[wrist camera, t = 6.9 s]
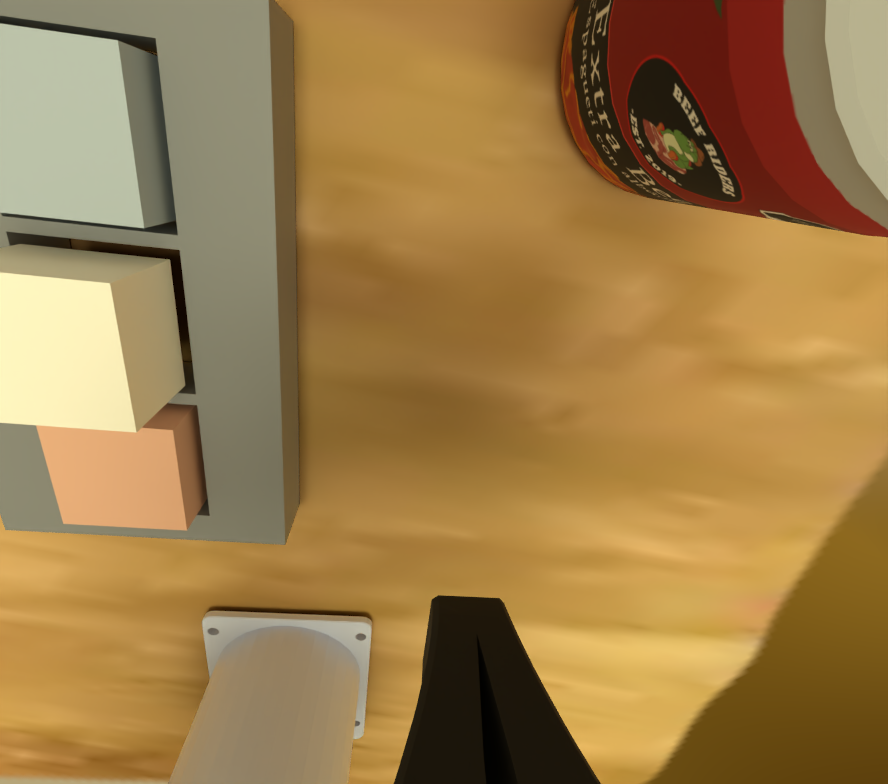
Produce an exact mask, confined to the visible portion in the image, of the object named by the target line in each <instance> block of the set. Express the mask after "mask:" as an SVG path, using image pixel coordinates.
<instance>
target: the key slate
mask: <svg viewBox="0 0 888 784" xmlns="http://www.w3.org/2000/svg"><path fill="white" fill-rule="evenodd" d="M0 212H1V213H10V214H19V215H28V216H37V217H46V218H55V219H64V220H74V221H83V222H92V223H101V224H110V225H119V226H128V227H137V228H147V227H151V226H155V225H160V224H164V223H168V222H172V221H176V213H175V205H174V196H173V187H172V178H171V169H170V160H169V152H168V143H167V134H166V125H165V116H164V107H163V99H162V90H161V81H160V72H159V63H158V56H156V55H153V54H151V53H148V52H146V51H143V50H141V49H138V48H136V47H133V46H131V45H128V44H126V43H123V42H121V41H118V40H112V39H105V38H98V37H91V36H84V35H77V34H70V33H63V32H56V31H49V30H42V29H35V28H28V27H21V26H14V25H7V24H0Z"/></svg>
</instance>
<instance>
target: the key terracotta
mask: <svg viewBox="0 0 888 784" xmlns="http://www.w3.org/2000/svg"><path fill="white" fill-rule="evenodd" d="M36 427H37V431H38V434H39V438H40V442H41V445H42V449H43V452H44V456H45V460H46V463H47V467H48V470H49V474H50V478H51V481H52V485H53V488H54V492H55V495H56V499H57V503H58V506H59V510H60V513H61V517H62V521H63V524H77V525H95V526H113V527H131V528H150V529H168V530H186V531H187V530H188V528H189V527H190V525H191V523H192V522H193V520H194V519H195V517H196V515H197V514H198V512H199V511H200V509H201V507H202V506H203V504H204V503H205V501H206V499H207V498H208V496H207V487H206V478H205V469H204V461H203V452H202V443H201V434H200V425H199V416H198V408H197V405H185V404H172V403H167V404H166V405H165V406H164V407H163V408H161V409H160V410H159V411H158V412H157V413H156V414H155V415H154V416H153V417H152V418H151V419H150V420H149V421H148V422H147V423H146V424H145V425H144V426H143V427H142V428H141V429H140V430H139V431H138V432H137V433H135V432H122V431H108V430H94V429H80V428H66V427H52V426H39V425H36Z"/></svg>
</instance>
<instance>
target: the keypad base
mask: <svg viewBox="0 0 888 784" xmlns="http://www.w3.org/2000/svg"><path fill="white" fill-rule="evenodd" d="M0 24H7V25H14V26H21V27H28V28H35V29H42V30H49V31H56V32H63V33H70V34H77V35H84V36H91V37H98V38H105V39H112V40H118V41H121V42H123V43H126V44H128V45H131V46H133V47H136V48H138V49H141V50H146V51H153V52H157V54H158V63H159V72H160V81H161V90H162V99H163V107H164V116H165V125H166V134H167V143H168V152H169V160H170V169H171V178H172V187H173V196H174V205H175V213H176V221H172V222H168V223H164V224H160V225H155V226H151V227H147V228H137V227H128V226H119V225H110V224H101V223H92V222H83V221H74V220H64V219H55V218H46V217H37V216H28V215H19V214H10V213H1V212H0V248H3V247H8V246H12V245H17V244H27V245H36V246H46V247H56V248H65V249H71V246H70V241H69V238H72V239H82V240H91V241H100V242H110V243H119V244H129V245H138V246H147V247H157V248H166V249H175V250H180V257H181V266H182V275H183V284H184V293H185V302H186V310H187V319H188V328H189V337H190V346H191V355H192V362H183V370H184V378H185V386H184V387H183V388H182V389H181V390H180V391H179V392H178V393H177V394H176V395H175V396H174V397H173V398H172V399H171V400H170V401H169V402H168V403H172V404H185V405H197V408H198V416H199V425H200V434H201V443H202V452H203V461H204V469H205V478H206V487H207V496H208V498H207V499H206V501H205V503H204V504H203V506H202V507H201V509H200V511H199V512H198V514H197V515H196V517H195V519H194V520H193V522H192V523H191V525H190V527H189V528H188V530H187V531H186V530H168V529H150V528H131V527H113V526H95V525H77V524H63V521H62V517H61V513H60V510H59V506H58V503H57V499H56V495H55V492H54V488H53V485H52V481H51V478H50V474H49V470H48V467H47V463H46V460H45V456H44V452H43V449H42V445H41V442H40V438H39V434H38V431H37V427H36V425H25V424H11V423H0V515H1V518H2V521H3V524H4V527H5V529H6V530H18V531H37V532H55V533H74V534H93V535H112V536H131V537H149V538H168V539H187V540H206V541H224V542H243V543H262V544H281V545H285V544H286V541H287V538H288V536H289V533H290V530H291V527H292V524H293V521H294V518H295V515H296V512H297V510H298V507H299V504H300V492H299V417H298V342H297V268H296V193H295V118H294V44H293V21H292V20H291V18H290V17H289V16H288V15H287V14H286V13H285V12H284V11H283V10H282V8H281V7H280V6H279V5H278V4H277V3H276V2H275V1H274V0H0Z"/></svg>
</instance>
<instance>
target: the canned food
mask: <svg viewBox="0 0 888 784" xmlns="http://www.w3.org/2000/svg"><path fill="white" fill-rule="evenodd" d="M561 92H562V98H563V104H564V109H565V115H566V119H567V122H568V124H569V127H570V129H571V132H572V135H573V137H574V140H575V142H576V144H577V145H578V147H579V149H580V150H581V152H582V153H583V155H584V156H585V158H586V159H587V161H588V162H589V164H590V165H592V166H593V167H594V168H595V169H596V170H597V171H598V172H599V173H600V174H601V175H602V176H603V177H604V178H605V179H606V180H608V181H610V182H611V183H613V184H615V185H616V186H618V187H620V188H621V189H623V190H625V191H628V192H631V193H634V194H637V195H641V196H644V197H647V198H653V199H658V200H664V201H670V202H676V203H682V204H687V205H693V206H699V207H705V208H711V209H716V210H722V211H728V212H734V213H740V214H746V215H751V216H757V217H763V218H769V219H775V220H780V221H786V222H792V223H798V224H804V225H809V226H815V227H821V228H827V229H833V230H838V231H844V232H850V233H856V234H862V235H867V236H881V237H888V0H576V1H575V4H574V7H573V9H572V12H571V15H570V18H569V21H568V24H567V28H566V34H565V40H564V45H563V51H562V57H561Z"/></svg>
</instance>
